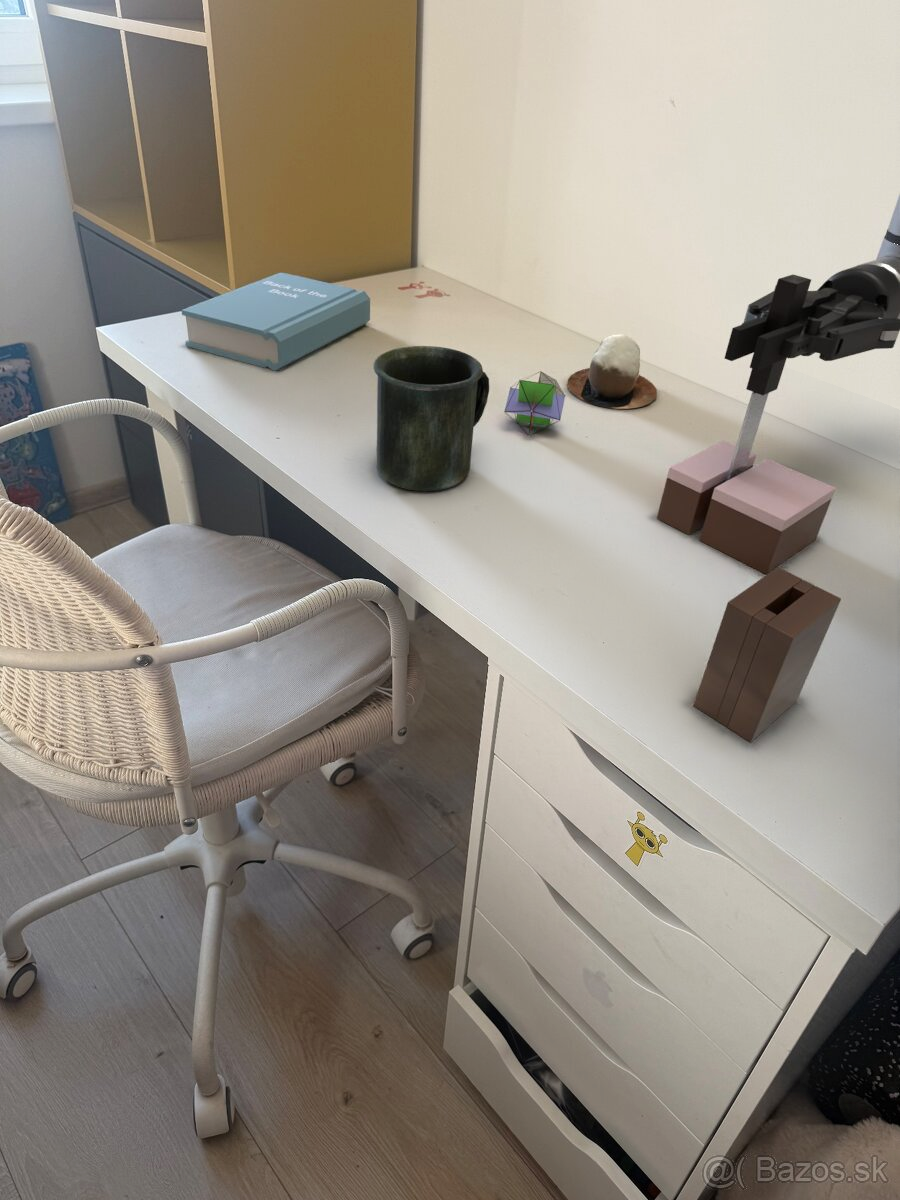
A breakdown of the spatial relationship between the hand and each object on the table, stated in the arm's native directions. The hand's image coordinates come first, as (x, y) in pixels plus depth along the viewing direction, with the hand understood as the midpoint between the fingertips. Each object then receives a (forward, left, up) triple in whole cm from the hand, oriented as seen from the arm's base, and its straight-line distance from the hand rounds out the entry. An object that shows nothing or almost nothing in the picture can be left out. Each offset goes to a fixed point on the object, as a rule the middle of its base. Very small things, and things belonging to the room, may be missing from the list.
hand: (745, 349), depth 71 cm
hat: (+37, +5, -20) cm, 42 cm away
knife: (+4, -4, -18) cm, 19 cm away
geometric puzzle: (+23, +16, -20) cm, 34 cm away
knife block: (-23, 0, -19) cm, 30 cm away
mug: (+11, +27, -20) cm, 35 cm away
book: (+47, +52, -20) cm, 72 cm away
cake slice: (+6, -2, -19) cm, 20 cm away
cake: (+1, -7, -19) cm, 21 cm away
